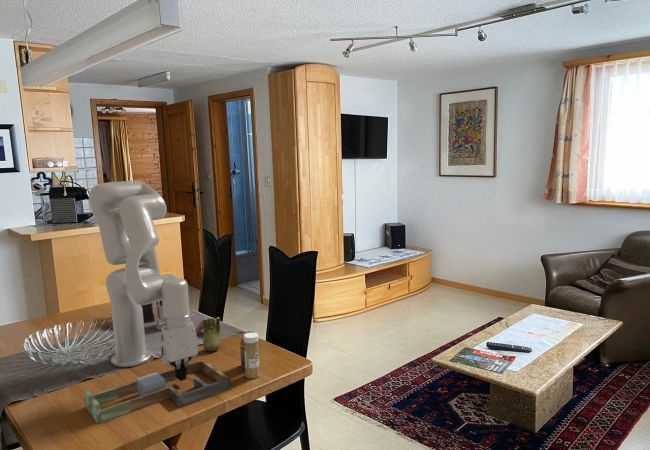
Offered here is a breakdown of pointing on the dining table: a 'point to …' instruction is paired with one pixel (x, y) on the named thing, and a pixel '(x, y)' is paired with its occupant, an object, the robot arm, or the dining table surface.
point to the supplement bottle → (244, 349)
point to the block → (150, 383)
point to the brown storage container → (148, 313)
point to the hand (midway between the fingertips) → (181, 378)
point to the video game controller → (201, 326)
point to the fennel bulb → (212, 334)
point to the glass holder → (158, 313)
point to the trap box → (156, 393)
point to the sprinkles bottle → (251, 355)
